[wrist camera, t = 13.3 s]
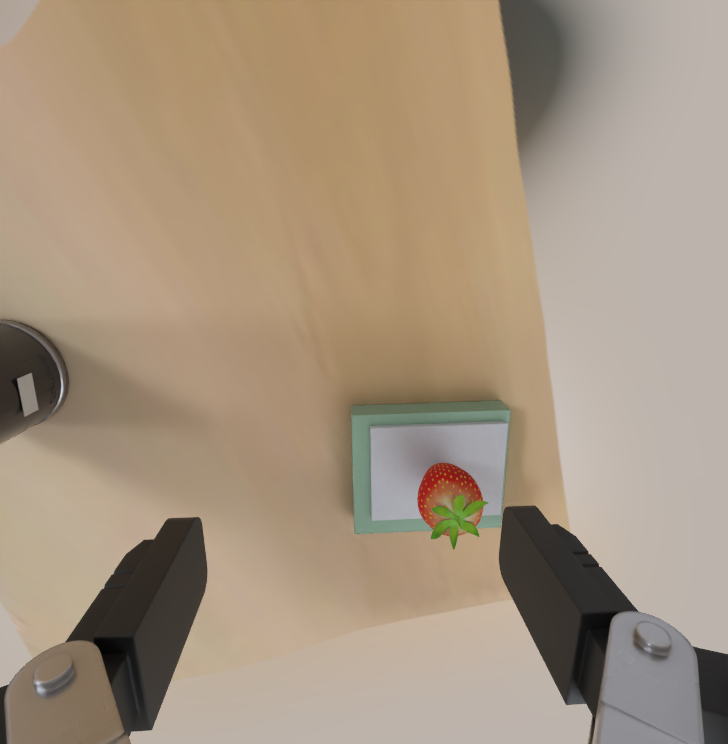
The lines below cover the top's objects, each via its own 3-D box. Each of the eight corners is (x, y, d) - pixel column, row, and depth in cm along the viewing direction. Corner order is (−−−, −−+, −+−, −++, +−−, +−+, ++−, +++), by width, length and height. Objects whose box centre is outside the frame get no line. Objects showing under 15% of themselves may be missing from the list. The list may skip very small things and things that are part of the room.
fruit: (476, 483, 39) (509, 541, 31) (424, 508, 39) (444, 571, 32) (451, 435, 37) (479, 484, 30) (398, 462, 38) (412, 516, 30)
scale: (353, 520, 43) (354, 540, 40) (350, 405, 39) (351, 418, 36) (492, 514, 43) (503, 533, 40) (501, 400, 40) (513, 412, 37)
